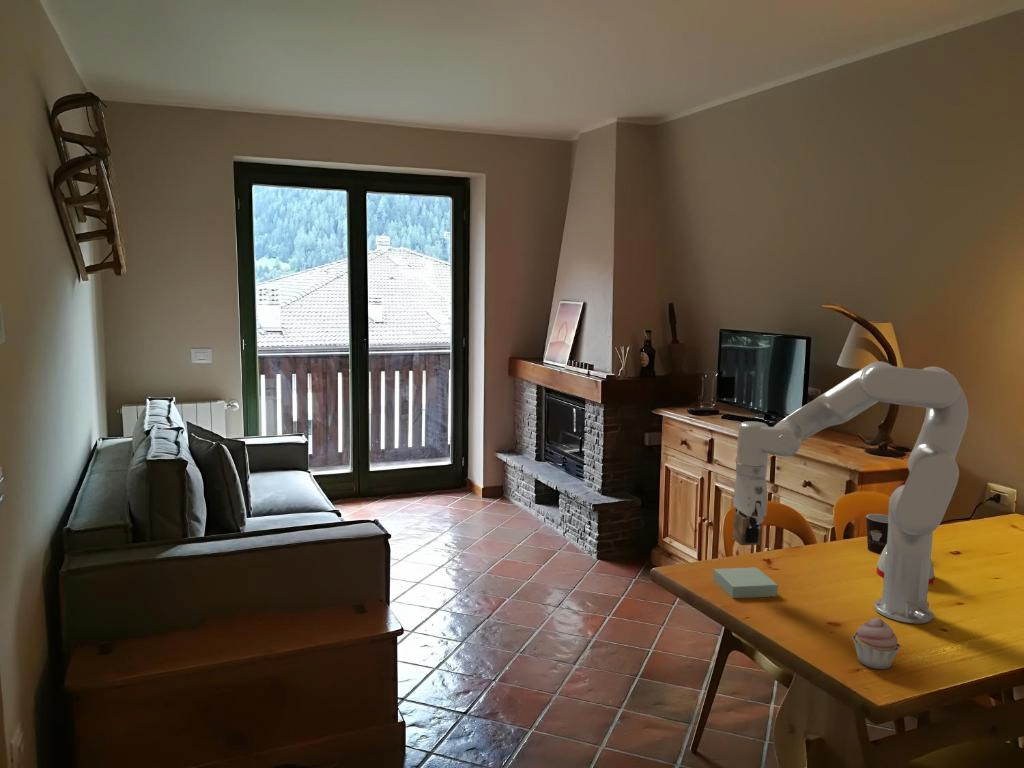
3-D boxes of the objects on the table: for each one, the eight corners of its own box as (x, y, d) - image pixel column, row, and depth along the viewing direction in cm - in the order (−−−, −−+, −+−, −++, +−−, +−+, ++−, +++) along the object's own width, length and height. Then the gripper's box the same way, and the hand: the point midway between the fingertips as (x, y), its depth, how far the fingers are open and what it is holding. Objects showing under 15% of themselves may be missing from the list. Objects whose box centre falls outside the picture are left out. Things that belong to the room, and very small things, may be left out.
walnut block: (759, 544, 192) (761, 518, 192) (741, 545, 192) (743, 518, 191) (750, 538, 197) (752, 512, 196) (732, 538, 197) (734, 512, 196)
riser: (777, 596, 191) (777, 584, 191) (732, 598, 189) (732, 586, 189) (755, 578, 203) (756, 567, 202) (713, 579, 201) (713, 569, 201)
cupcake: (884, 678, 151) (889, 631, 150) (841, 659, 159) (844, 614, 157) (908, 665, 157) (912, 620, 155) (865, 648, 164) (868, 604, 163)
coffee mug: (857, 547, 229) (859, 515, 228) (880, 544, 231) (882, 513, 230) (886, 560, 218) (889, 527, 217) (910, 557, 220) (913, 524, 219)
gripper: (781, 478, 184) (775, 550, 187) (750, 462, 201) (745, 527, 203) (752, 479, 183) (747, 550, 186) (723, 462, 200) (719, 528, 202)
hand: (746, 538), depth 194 cm, fingers closed on walnut block, 5 cm apart
